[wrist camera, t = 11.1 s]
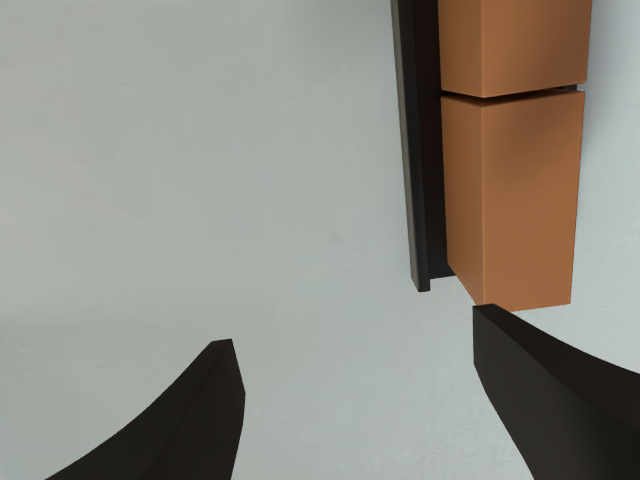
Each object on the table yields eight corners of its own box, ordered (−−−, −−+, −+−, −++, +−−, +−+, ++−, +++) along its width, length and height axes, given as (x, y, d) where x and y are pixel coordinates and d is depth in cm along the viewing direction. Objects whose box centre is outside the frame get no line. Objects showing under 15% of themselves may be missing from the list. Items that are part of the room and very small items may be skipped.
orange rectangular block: (519, 84, 19) (585, 91, 15) (516, 253, 22) (570, 304, 18) (440, 96, 19) (481, 106, 15) (447, 263, 22) (483, 316, 18)
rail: (570, -178, 16) (596, -202, 15) (549, 259, 23) (565, 273, 21) (379, -146, 17) (386, -167, 15) (411, 278, 23) (418, 293, 22)
